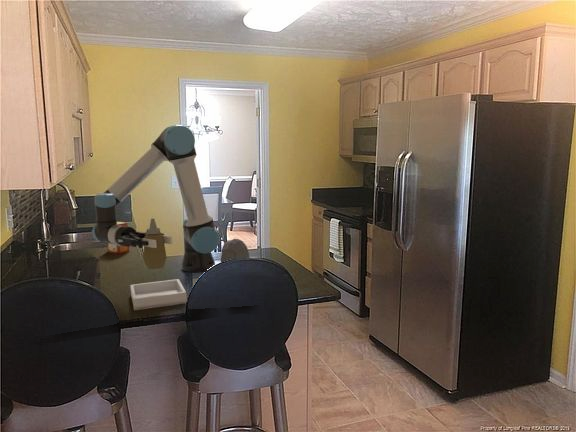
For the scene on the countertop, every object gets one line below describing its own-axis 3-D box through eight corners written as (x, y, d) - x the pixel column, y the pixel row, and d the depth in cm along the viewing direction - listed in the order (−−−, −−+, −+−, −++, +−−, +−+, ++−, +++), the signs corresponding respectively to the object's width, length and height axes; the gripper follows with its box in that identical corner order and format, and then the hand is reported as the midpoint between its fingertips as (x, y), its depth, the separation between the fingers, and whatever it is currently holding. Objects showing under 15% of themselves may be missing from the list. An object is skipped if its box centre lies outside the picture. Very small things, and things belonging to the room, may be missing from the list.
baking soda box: (107, 252, 247) (105, 222, 245) (117, 249, 252) (115, 220, 250) (118, 254, 242) (116, 224, 239) (129, 251, 247) (127, 222, 245)
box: (179, 288, 181) (178, 279, 180) (187, 303, 164) (186, 292, 164) (131, 295, 174) (130, 284, 174) (134, 310, 158) (133, 299, 157)
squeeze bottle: (171, 267, 168) (168, 218, 165) (151, 271, 162) (148, 221, 159) (159, 263, 173) (156, 216, 171) (139, 268, 167) (136, 219, 165)
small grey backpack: (237, 282, 188) (236, 234, 185) (256, 284, 185) (254, 235, 182) (218, 293, 174) (216, 242, 171) (237, 296, 171) (236, 243, 168)
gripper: (144, 240, 185) (184, 247, 172) (101, 250, 169) (141, 258, 156) (143, 222, 183) (183, 227, 171) (99, 230, 168) (140, 236, 155)
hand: (163, 242), depth 163 cm, fingers closed on squeeze bottle, 6 cm apart
